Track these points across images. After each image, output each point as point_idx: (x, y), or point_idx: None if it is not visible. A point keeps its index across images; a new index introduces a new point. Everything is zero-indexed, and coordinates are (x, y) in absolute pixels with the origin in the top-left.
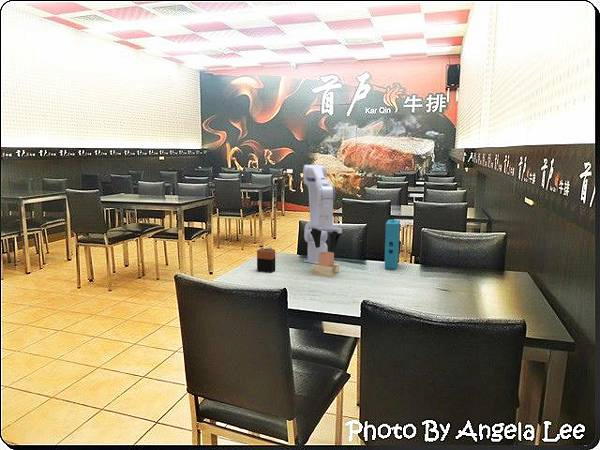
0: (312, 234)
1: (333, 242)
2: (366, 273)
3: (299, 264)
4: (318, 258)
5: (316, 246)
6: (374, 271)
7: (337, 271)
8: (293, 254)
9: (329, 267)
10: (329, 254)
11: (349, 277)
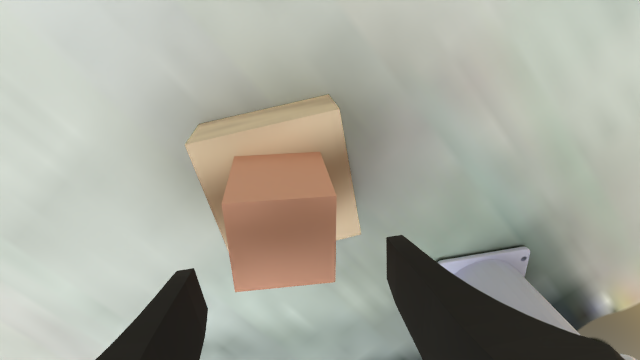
0: (538, 337)
1: (106, 350)
2: (125, 312)
3: (519, 196)
4: (326, 172)
5: (394, 242)
6: None
7: None
8: (632, 299)
9: (207, 157)
10: (227, 235)
11: (113, 200)
